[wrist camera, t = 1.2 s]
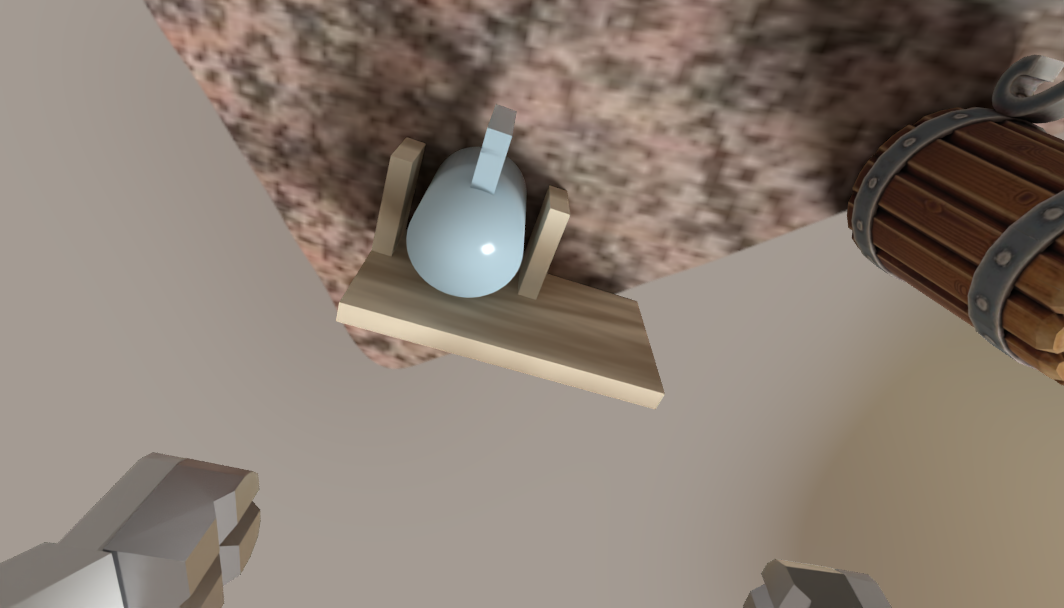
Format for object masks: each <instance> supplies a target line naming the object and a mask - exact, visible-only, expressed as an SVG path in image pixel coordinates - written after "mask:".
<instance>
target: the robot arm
mask: <svg viewBox="0 0 1064 608" xmlns="http://www.w3.org/2000/svg"><path fill="white" fill-rule="evenodd" d="M258 491H259V479H258V473H256V472H253V471H249V470H244V469H239V468H234V467H229V466H224V465H218V464H214V463H209V462H204V461H198V460H193V459H188V458H181V457H175V456H170V455H165V454H160V453H155V452H152V453H150V454H148V455H146V456H145V457H142V458H141V459H140V460H138V461H137V462H136V463H135V464H134V465H133V466H132V467H131V468H130V469H129V471H128V472H127V473H126V474H125V475H124V476H123V477H122V478H121V479H120V480H119V481H118V482H117V483H116V484H115V485H114V486H113V487H112V488H111V489H110V490H109V491H108V492H107V493H106V494H105V495H104V496H103V497H102V498H101V499H100V500H99V501H98V502H97V503H96V504H95V505H94V506H93V507H92V508H91V510H89V511H88V512H87V513H86V515H84V517H83V518H82V519H81V520H80V521H79V522H78V523H77V524H76V525H75V526H74V527H73V528H72V529H71V530H70V531H69V532H68V533H67V534H66V535H65V536H64V537H63V538H62V539H61V540H60V541H59V542H58V543H57V544H56V543H48V542H44V543H42V544H40V545H38V546H36V547H34V548H32V549H30V550H28V551H26V552H23V553H21V554H19V555H17V556H15V557H13V558H11V559H9V560H7V561H4V562H2V563H0V608H222V606H223V604H224V594H223V586H224V585H225V584H227V583H228V582H230V581H231V580H233V579H234V578H236V577H238V576H239V575H241V573H242V571H243V569H244V567H245V566H246V564H247V562H248V560H249V558H250V557H251V554H252V551H253V549H254V546H255V543H256V540H257V538H258V533H259V527H260V521H261V520H260V509H259V508H258V507H257V506H256V505H255V503H254V502H253V501H252V500H253V499H254V497H255V495H256V494H257V492H258ZM761 575H762V577H763V580H764V583H765V584H763V585H762V586H760V587H758V588H756V589H754V590H752V591H750V593H749V595H748V597H747V599H746V601H745V603H744V605H743V608H892V607H891V605H890V604H889V602H888V600H887V599H886V597H885V595H884V594H883V592H882V590H881V589H880V587H879V585H878V584H877V582H876V581H875V580H873V579H872V578H871V577H870V576H869V575H868V574H864V573H858V572H851V571H846V570H840V569H832V568H830V567H824V566H817V565H811V564H804V563H798V562H791V561H785V560H779V559H774V560H772V561H770V562H769V563H767V565H766V566H765V568H764V569H763V571H762V573H761Z"/></svg>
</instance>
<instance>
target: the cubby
mask: <svg viewBox="0 0 1064 608" xmlns="http://www.w3.org/2000/svg"><path fill="white" fill-rule="evenodd" d="M425 145H426V144H425V143H422V142H419V141H416V140H413V139H411V138H408V137H406V138H405V139H404V141H403V142H402V143H401V144H400V145H399V147H398V148H397V149H396V150H395V151H394V153H393V154H392V155H391V157H390V162H389V167H388V172H387V177H386V182H385V187H384V192H383V196H382V201H381V206H380V211H379V216H378V221H377V226H376V231H375V236H374V241H373V245H372V250H371V252H370V254H369V255H368V257H367V259H366V260H365V262H364V263H363V265H362V267H361V268H360V270H359V271H358V273H357V275H356V276H355V278H354V280H353V281H352V283H351V284H350V286H349V288H348V289H347V291H346V292H345V294H344V296H343V297H342V299H341V301H340V302H339V307H338V313H337V319H336V321H337V322H341V323H344V324H348V325H352V326H355V327H359V328H362V329H366V330H370V331H373V332H377V333H381V334H384V335H388V336H391V337H395V338H399V339H402V340H406V341H410V342H413V343H417V344H420V345H424V346H428V347H431V348H435V349H439V350H442V351H446V352H449V353H453V354H457V355H460V356H464V357H468V358H471V359H475V360H478V361H482V362H486V363H489V364H493V365H497V366H500V367H504V368H507V369H511V370H515V371H518V372H522V373H526V374H529V375H533V376H537V377H540V378H544V379H547V380H551V381H555V382H559V383H562V384H565V385H570V386H573V387H576V388H580V389H584V390H587V391H591V392H594V393H598V394H602V395H605V396H609V397H613V398H616V399H620V400H624V401H627V402H631V403H635V404H638V405H642V406H645V407H649V408H653V409H656V408H657V406H658V404H659V403H660V401H661V400H662V398H663V396H664V395H665V393H664V389H663V386H662V383H661V379H660V376H659V373H658V369H657V366H656V363H655V359H654V356H653V353H652V349H651V346H650V343H649V339H648V336H647V333H646V330H645V326H644V323H643V320H642V316H641V313H640V310H639V306H638V303H637V301H634V300H631V299H628V298H624V297H621V296H618V295H615V294H612V293H608V292H605V291H602V290H599V289H595V288H592V287H589V286H586V285H582V284H579V283H576V282H573V281H570V280H566V279H563V278H560V277H557V276H553V275H550V274H547V271H548V269H549V266H550V264H551V261H552V259H553V256H554V254H555V251H556V249H557V246H558V244H559V241H560V239H561V236H562V234H563V231H564V229H565V226H566V224H567V221H568V219H569V216H570V210H569V202H568V194H567V191H565V190H562V189H559V188H556V187H553V186H550V185H549V188H548V190H547V193H546V196H545V198H544V201H543V204H542V207H541V209H540V212H539V215H538V217H537V220H536V223H535V226H534V228H533V231H532V234H531V236H530V239H529V242H528V245H527V247H526V250H525V253H524V255H523V258H522V261H521V265H520V267H519V269H518V271H517V273H516V274H515V276H514V277H513V278H512V279H511V281H510V282H509V283H507V284H506V285H505V286H504V287H502V288H501V289H499V290H498V291H496V292H494V293H491V294H488V295H485V296H481V297H473V298H466V297H457V296H453V295H449V294H446V293H444V292H442V291H440V290H437V289H436V288H434V287H433V286H431V285H430V284H429V283H427V282H426V281H425V280H424V279H423V278H422V277H421V276H420V275H419V274H418V272H417V271H416V270H415V268H414V266H413V265H412V263H411V260H410V258H409V255H408V251H407V244H406V236H407V230H406V226H407V222H408V217H409V213H410V209H411V205H412V200H413V196H414V192H415V188H416V183H417V179H418V175H419V171H420V166H421V162H422V158H423V154H424V149H425Z"/></svg>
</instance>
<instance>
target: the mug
mask: <svg viewBox="0 0 1064 608" xmlns="http://www.w3.org/2000/svg"><path fill="white" fill-rule="evenodd" d="M1063 67H1064V62H1062V61H1059V60H1055V59H1052V58H1048V57H1045V56H1042V55H1031V56H1027V57H1024V58H1022V59H1020V60H1019V61H1017V62H1015V63H1014V64H1012V65H1011V66H1010V67H1009V68H1008V69H1007V70H1006V71H1005V72H1004V73H1003V74H1002V76H1001V78H1000V79H999V81H998V83H997V84H996V86H995V89H994V92H993V95H992V105H993V107H994V109H988V108H979V107H972V108H969V109H962V108H959V107H957V108H952V109H946V110H941V111H938V112H936V113H933V114H930V115H927V116H924V117H923V118H922V119H920V120H919V121H918V122H916V123H915V124H914V125H907V126H906V127H904V128H903V129H901V130H900V131H898V132H897V133H896V134H894V135H893V136H892V137H890V138H889V139H888V140H887V141H886V142H885V143H884V144H883V145H882V146H880V147H879V149H878V150H877V152H876V153H875V155H874V156H873V157H871V158H870V159H869V160H868V161H867V163H866V164H865V166H864V167H863V169H862V170H861V172H860V173H859V175H858V177H857V179H856V182H855V184H854V186H853V188H852V190H853V194H852V196H851V198H850V200H849V201H848V211H847V220H848V228H850V229H851V230H853V233H852V239H853V240H854V242H855V244H856V245H857V247H858V248H859V249H860V250H861V252H862V254H863V255H864V256H865V257H866V258H867V259H869V260H870V261H871V262H872V263H873V264H875V265H876V266H877V267H879V268H880V269H882V270H883V271H884V272H886V273H887V274H889V275H891V276H892V277H894V278H896V279H899V280H902V281H904V282H907V283H908V284H910V285H911V286H913V287H914V288H916V289H918V290H919V291H920V292H922V293H923V294H925V295H926V296H928V297H929V298H931V299H932V300H934V301H935V302H937V303H938V304H940V305H941V306H943V307H944V308H946V309H947V310H949V311H950V312H952V313H953V314H955V315H956V316H958V317H959V318H961V319H962V320H964V321H965V322H967V323H968V324H970V325H971V326H973V327H974V328H975V330H976V332H978V333H979V334H980V335H981V336H982V337H983V338H985V339H986V340H987V341H988V342H989V343H990V344H992V345H993V346H995V347H996V348H998V349H999V350H1001V351H1002V352H1004V353H1005V354H1007V355H1008V356H1010V357H1011V358H1013V359H1014V360H1015V361H1017V362H1018V363H1021V364H1024V365H1026V366H1029V367H1031V368H1034V369H1037V370H1039V371H1040V372H1042V373H1044V374H1045V375H1046V376H1048V377H1049V378H1051V379H1054V380H1055V381H1057V382H1058V383H1060V384H1061V385H1064V140H1062V139H1059V138H1057V137H1055V136H1052V135H1050V134H1047V133H1046V131H1045V130H1044V129H1043V128H1041V127H1039V126H1037V125H1035V124H1032V123H1047V122H1051V121H1056V120H1059V119H1061V118H1064V81H1062V82H1060V83H1059V84H1057V85H1055V86H1053V87H1051V88H1049V89H1047V90H1045V91H1043V92H1041V93H1038V94H1036V95H1034V92H1035V90H1036V89H1037V87H1038V86H1039V85H1040V84H1042V83H1043V82H1054V80H1055V79H1056V77H1057V76H1058V74H1059V73H1060V71H1061V70H1062V68H1063Z"/></svg>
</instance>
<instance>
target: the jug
mask: <svg viewBox="0 0 1064 608" xmlns="http://www.w3.org/2000/svg"><path fill="white" fill-rule="evenodd" d="M516 112H517V111H514V110H511V109H509V108H506V107H503V106H500V105H497V104H496V105H495V108H494V111H493V114H492V117H491V119H490V122H489V125H488V128H487V131H486V135H485V138H484V142H483V145H482V147H469V148H465V149H461V150H459V151H457V152H455V153H453V154H451V155H450V156H449V157H448V158H446V159H445V161H444V162H443V163H442V164H441V166H440V167H439V169H438V170H437V172H436V174H435V176H434V178H433V180H432V182H431V183H430V185H429V187H428V189H427V191H426V193H425V195H424V197H423V198H422V200H421V202H420V204H419V206H418V208H417V210H416V211H415V213H414V215H413V217H412V219H411V221H410V223H409V227H408V230H407V236H406V244H407V251H408V255H409V258H410V260H411V263H412V265H413V266H414V268H415V270H416V271H417V272H418V274H419V275H420V276H421V277H422V278H423V279H424V280H425V281H426V282H427V283H429V284H430V285H431V286H433V287H434V288H436V289H437V290H440V291H442V292H444V293H446V294H449V295H453V296H457V297H466V298H473V297H481V296H485V295H488V294H491V293H494V292H496V291H498V290H499V289H501V288H502V287H504V286H505V285H506V284H507V283H509V282H510V281H511V279H512V278H513V277H514V276H515V274H516V273H517V271H518V269H519V267H520V265H521V261H522V258H523V250H524V234H525V217H526V201H527V189H526V184H525V180H524V178H523V175H522V173H521V171H520V170H519V168H518V167H517V166H516V164H515V163H514V162H513V161H512V160H511V159H510V158H508V157H507V156H506V154H507V151H508V148H509V145H510V142H511V138H512V135H513V129H514V123H515V118H516Z"/></svg>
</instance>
